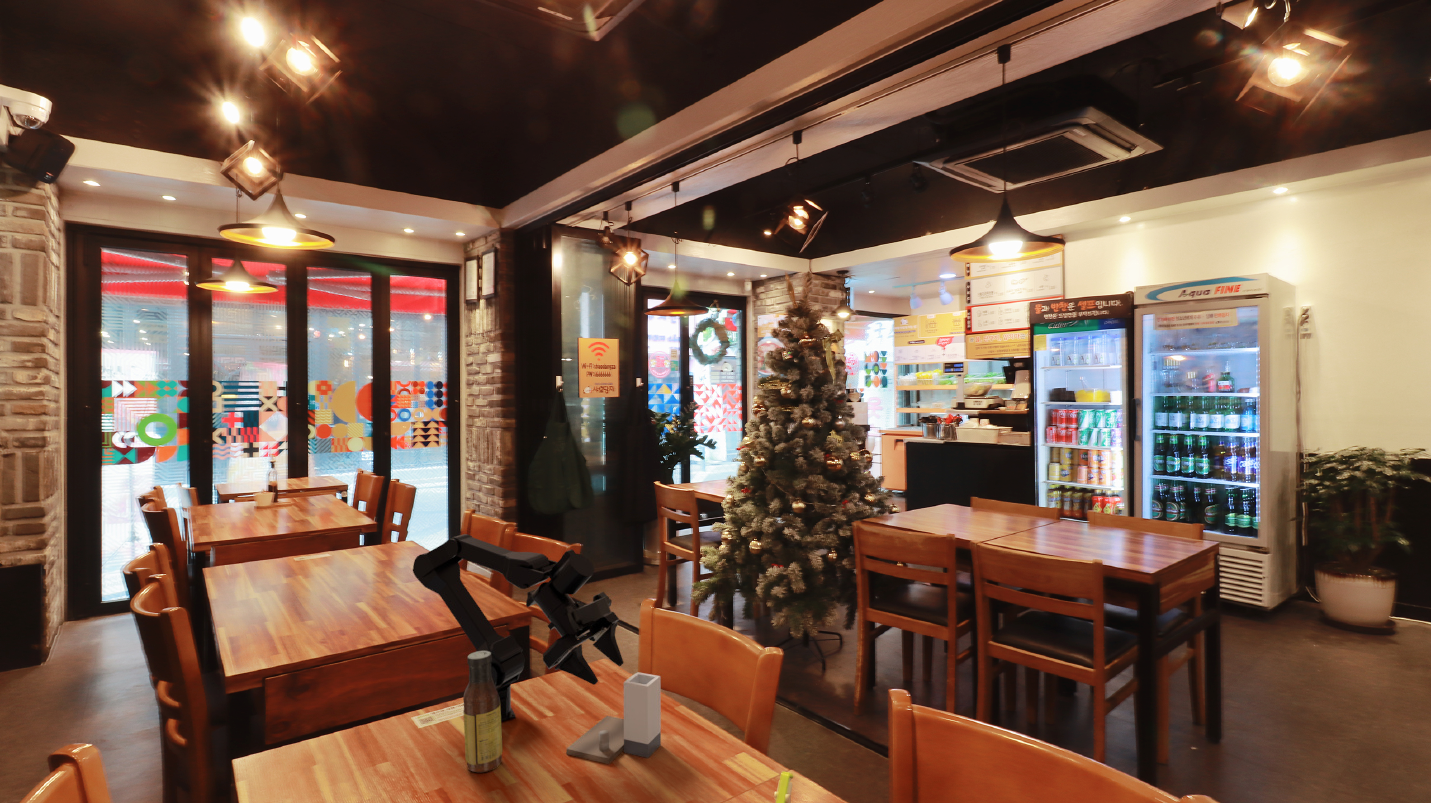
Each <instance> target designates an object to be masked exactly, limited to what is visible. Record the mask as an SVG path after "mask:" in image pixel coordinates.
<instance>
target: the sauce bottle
mask: <svg viewBox="0 0 1431 803" xmlns="http://www.w3.org/2000/svg"><path fill="white" fill-rule="evenodd" d="M491 661H492V656H491V653H490V652H488V651H474V652H471V653H470V654H468V655H467V665H468V671H469V672H468V674H469V676H468V684H467V686H466V687H465V689H464V693H463V699H462V700H463V729H464V733H463V734H464V751H465V752H464V753H465V754H464V755H465V756H464V757H465V762H466V768H467V769H468V772H469V771H470V772H472V773H473V772H474V773H478V774H481V773H487V772H491V771H493V770H494V769H497V767H499V766H500V765H501V763H502V760H503V756H502V755H503V738H502V736H503V734H502V733H503V732H502V721H501V711H500V698H499V695H498V692H497V690H496V688H495V685H494V682H493V679H492V674H491Z"/></svg>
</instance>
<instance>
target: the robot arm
mask: <svg viewBox="0 0 1431 803" xmlns="http://www.w3.org/2000/svg"><path fill="white" fill-rule="evenodd" d="M463 560H464V561H465V560H466V561H467V562H471V563H473V564H475V565H478V566H482V567H484V568H487V569H489V570H491V571H492V570H493V571H495V572H498V573H500V574H501V575H503V577H504V578H505V580H506V581H507V582H508V583H510V584H512V585H513V586H515V587H516V588H518V589H521V590H526V589H529V588H531V587H534V586H536V585H538V584H540V585H539V586H538V587H537V588H536V589H532V590H531V591H528V592H527V593H526V594H527V598H526V602H525V606H526V607H527V608H529V607H532V606H533V605H537V606H538V607H539V608H540V610H541V611H542V613H543V615H544V616H545V617H546V618H547V619H548V621H549V622H550V623H548V624H547V627H548V629H549V630H550V631H552V630H553V629H555V630H556V631H557V632H558V634H559V635H560V638H558V639H556V640H555V641H554V642H553V643H552V644H551V645H550V647H548V648H547V650H545V651H544V653H543V654H542V662H543V663H544V664H545V666H546V667H547V668H548V670H550V669H552V668H553V667H554V670H555V671H558V670H559V671H560V670H561V671H563V672H565V673H567V674H569V675H573V676H575V677H577V678H579V679H581V680H583V681H585V682H587V683H589V684H592V685H596V684H597V683H598V682H599V679H598V677H597V676H596V674H595V672H594V670H593V669H592V668H591V666H590V664H589V662H588V661H587V659H585V657H584V655H583V643H585V642H586V641H592V642H593V644H592V646H593V647H595V648H596V649H597V650H598V651H599V652H601V653H602V654H603V655H604V656H605V657H606V658H608V659H609V660H610V661H611V662H613V663H614V664H615V665H616V666H618V667H622V665H624V663H625V662H624V660H623V656H622V654H621V652H620V651H621V650H620V648H619V646H618V642H617V639H616V628H618V622H619V620H620V618H619V617H618V615H616V613H615V612H614V611H612V610H611V608H610V607H611V606H612V603H613V602H612V599H611V598H610V597H609V596H608V595H607V594H606V593H605V592H604V591H602V592H600V593H597V594H595V595H593V597H592V601H591V602H590V603H587V604H584V603H583V602H582V601H580V600H578V601H576V602H575V601H574V600H573V598H572V597H571V595H575V594H576V593H577V592H578V591H579V590H580V589H581V588H582V587H583V586H584V585H585V584H586V583H587V581H588V580H589V579H591V577H593V575H594V573H595V566H594V564H593V563H592V561H591V560H590V559H589V558H587V557H585V556H584V555H583V554H581V553H577V552H575V550H574V549H570V550H566V551H565V552H564V553H563V554H562V556H561V558H560V559H559V560H558V561H556V560H551V559H549V558H548V556H547V555H545V554H543V553H538V552H531V551H522V552H521V551H512V550H509V549H507V548H505V547H501V546H498V545H495V544H492V543H489V542H487V541H483V540H481V539H478V538H475V537H473V536H472V535H470V534H466V533H463V534H460V535H457V536H456V535H455V536H453V537H452V536H451V537H450V538H449V539H448V540H446V541H445V542H443V543H442V544H441V545H439V546H437V547H435V548H433V549H432V550H430V551H428V552H425V553H422V554H419V555H417V556H416V557H415V559H414V562H413V565H412V573H413V575H414V577H415V578H416V579H417V580H418V581H419V583H420V584H421V585H423V587H424V588H426V589H428V590H429V591H432V592H434V593H435V594H438V595H439V597H440V598H441V599H442V601H443V603H444V604H445V606H446V607H447V609H448V610H449V611H450V612H451V614H452V616H453V617H454V618H455V621H456V622H457V623H458V624H459V626H460V627H461V628H460V629H462V630H463V632H464V633H465V635H466V636H467V638H468V639H469V641H470V643H471V644H472V645H473V647H474V648H475V650H476V651H475V652H477V651H488V652H490V653H491V656H492V661H491V674H492V679H493V682H494V685H495V688H496V690H497V692H498V695H499V698H500V711H501V722H504V721H509V720H513V719H516V713H515V711H514V710H513V708H512V704H511V703H512V699H511V698H512V696H511V694H512V692H511V690H512V688H511V684H512V683H514V682H516V681H518V680H519V678H520V676H521V675H520V674H521V673H522V672H523V670H524V667H525V661H526V659H525V655H524V653H523V651H524V648H523V647H521V646H520V645H519V644H518V642H517V640H516V639H515V637H514V636H513V635H512V634H510V635H508V636H505V637H504V636H503V635H501V634H499V633H498V632H497V631H496V630H495V628H494V627H493V625H492V623H491V622H490V621H489V619H488V618H487V616H486V614H484V612H483V610H482V609H481V608H480V606H479V605H478V603H477V602H476V600H475V599H474V598H473V596H472V595H471V593H470V592H469V590H468V588H467V587H466V585H464V583H463V581H462V580H461V566H460V564H459V563H460V562H462V561H463ZM548 579H549V581H547V580H548Z"/></svg>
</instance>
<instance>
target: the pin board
mask: <svg viewBox="0 0 1431 803" xmlns="http://www.w3.org/2000/svg"><path fill="white" fill-rule="evenodd" d="M565 749H566V752H565V753H566V755H569V756H573V757H577V758H581V759H586V760H590V761H594V762H598V763H602V764H607V765H610V764H611V763H612V762H613V761H614V760H616V758H617V757H618V756H619V755H620V754H621V753H623V752H624V718H620V717H617V716H616V717H615V716H611V715H606V716H604V717H603V718H602V719H601V720H600V721H598V722H597V723H596V724H595V725H593V727H591V728H590V729H588V730H587V731H586V732H585V733H584V734H582V735H581V736H580V737H579V738H577V739H576V740H575V741H574V742H573V743H572V744H570V745H569V746H568V747H566V748H565Z"/></svg>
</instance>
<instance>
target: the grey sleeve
mask: <svg viewBox="0 0 1431 803" xmlns="http://www.w3.org/2000/svg"><path fill="white" fill-rule="evenodd" d="M661 709H662V708H661V675H655V674H650V673H643V672H639V671H638V672H635V673H634V674H633V675H631V676H630V677H628V678H627V679H626V680H625V681H623V719H624V750H623V753H625V754H629V755H633V756H638V757H641V758H646V759H648V758H650V757H651V756H652V754H654V753H655V752H656V751H657V749H658V748H659V747H660V746H662V744H661V743H662V742H661V737H662V736H661V735H662V734H661V730H662V727H661V723H662V722H661V717H662V716H661V713H662V712H661Z"/></svg>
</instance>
